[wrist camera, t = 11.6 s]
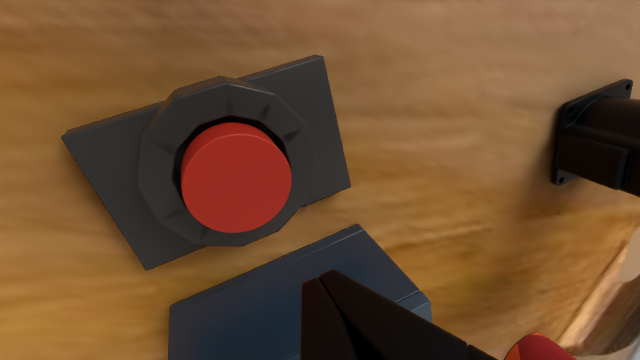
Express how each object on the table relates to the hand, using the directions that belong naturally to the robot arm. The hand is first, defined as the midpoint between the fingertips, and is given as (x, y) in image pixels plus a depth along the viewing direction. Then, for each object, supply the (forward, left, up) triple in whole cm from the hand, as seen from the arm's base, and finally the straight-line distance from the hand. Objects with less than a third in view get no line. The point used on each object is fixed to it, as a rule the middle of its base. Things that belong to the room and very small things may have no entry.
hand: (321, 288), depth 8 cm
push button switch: (+1, 0, -10) cm, 10 cm away
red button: (+1, 0, -8) cm, 8 cm away
